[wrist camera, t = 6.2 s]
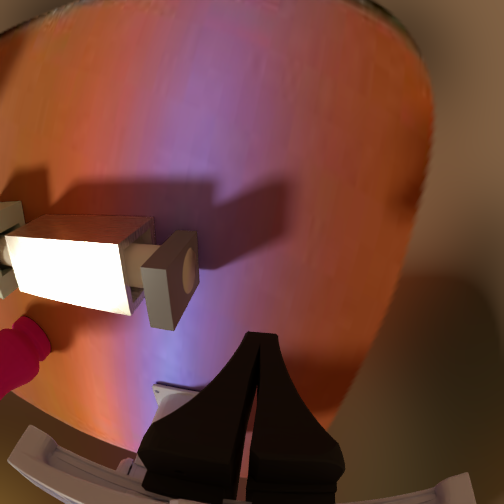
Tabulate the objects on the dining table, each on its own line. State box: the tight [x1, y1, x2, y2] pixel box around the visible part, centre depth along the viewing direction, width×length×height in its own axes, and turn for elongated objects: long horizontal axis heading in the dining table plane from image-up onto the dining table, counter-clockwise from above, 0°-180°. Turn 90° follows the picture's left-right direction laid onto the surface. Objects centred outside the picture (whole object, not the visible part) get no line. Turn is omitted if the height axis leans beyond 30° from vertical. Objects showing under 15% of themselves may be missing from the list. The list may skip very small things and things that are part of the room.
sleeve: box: [5, 214, 156, 316], centre depth 20 cm, size 12×5×5 cm, turn 88°
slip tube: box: [0, 230, 200, 331], centre depth 19 cm, size 23×4×6 cm, turn 88°
